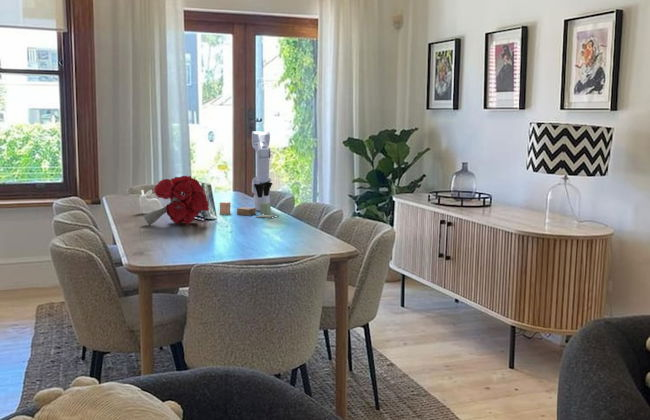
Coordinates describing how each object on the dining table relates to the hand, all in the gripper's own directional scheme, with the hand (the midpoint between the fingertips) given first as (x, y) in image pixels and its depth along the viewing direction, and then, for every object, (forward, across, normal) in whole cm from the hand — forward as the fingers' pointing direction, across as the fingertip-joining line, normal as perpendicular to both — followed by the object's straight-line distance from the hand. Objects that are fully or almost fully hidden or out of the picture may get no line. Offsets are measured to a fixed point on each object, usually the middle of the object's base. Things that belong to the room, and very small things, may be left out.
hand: (263, 196), depth 339 cm
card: (+9, +7, +6) cm, 13 cm away
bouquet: (+10, +50, -21) cm, 55 cm away
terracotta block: (+10, +8, -18) cm, 22 cm away
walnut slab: (+10, +4, -8) cm, 13 cm away
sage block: (+10, -1, +1) cm, 10 cm away
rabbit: (+10, +27, -52) cm, 59 cm away
